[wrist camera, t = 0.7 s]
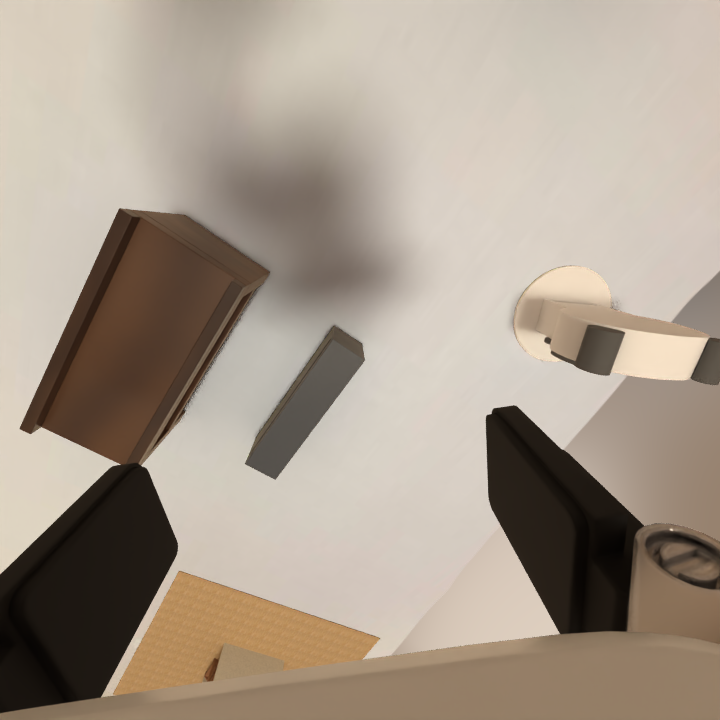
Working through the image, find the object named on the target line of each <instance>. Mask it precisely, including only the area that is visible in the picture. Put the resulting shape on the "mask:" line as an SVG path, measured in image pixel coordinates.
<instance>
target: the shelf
mask: <svg viewBox="0 0 720 720" xmlns="http://www.w3.org/2000/svg"><path fill="white" fill-rule="evenodd" d="M269 274H270V272H269V271H267V270H266V269H264V268H263V267H261V266H260V265H258V264H257V263H255V262H254V261H253V260H251V259H250V258H248V257H247V256H245V255H244V254H242V253H241V252H239V251H238V250H236V249H235V248H233V247H232V246H230V245H229V244H227V243H226V242H224V241H223V240H221V239H220V238H218V237H217V236H215V235H214V234H212V233H211V232H209V231H208V230H206V229H205V228H203V227H202V226H200V225H199V224H197V223H196V222H194V221H193V220H191V219H190V218H188V217H187V216H186V215H180V214H170V213H160V212H150V211H139V210H129V209H119V210H118V212H117V215H116V217H115V219H114V221H113V223H112V226H111V228H110V230H109V232H108V235H107V237H106V239H105V241H104V243H103V246H102V248H101V250H100V252H99V254H98V257H97V259H96V261H95V263H94V265H93V268H92V270H91V272H90V274H89V276H88V279H87V281H86V283H85V285H84V287H83V290H82V292H81V294H80V296H79V298H78V301H77V303H76V305H75V307H74V309H73V312H72V314H71V316H70V318H69V321H68V323H67V325H66V327H65V329H64V332H63V334H62V336H61V338H60V340H59V343H58V345H57V347H56V349H55V351H54V354H53V356H52V358H51V360H50V362H49V365H48V367H47V369H46V371H45V373H44V376H43V378H42V380H41V382H40V384H39V387H38V389H37V391H36V393H35V395H34V398H33V400H32V402H31V404H30V407H29V409H28V411H27V413H26V415H25V418H24V420H23V422H22V424H21V426H20V429H21V430H23V431H25V432H27V433H29V434H32V433H33V432H35V431H36V430H38V429H39V428H41V427H43V428H45V429H47V430H49V431H51V432H53V433H55V434H57V435H60V436H62V437H64V438H66V439H68V440H70V441H72V442H74V443H77V444H79V445H81V446H83V447H85V448H87V449H89V450H91V451H94V452H96V453H98V454H100V455H102V456H104V457H106V458H108V459H110V460H113V461H115V462H117V463H119V464H121V465H123V464H130V463H138V464H140V465H142V464H143V463H144V462H145V460H146V459H147V458H148V457H149V456H150V455H151V454H152V452H153V451H154V450H155V449H156V448H157V447H158V445H159V444H160V443H161V442H162V441H163V440H164V438H165V437H166V436H167V435H168V434H169V433H170V431H171V430H172V429H173V428H174V427H175V426H176V424H177V423H178V422H179V421H180V420H181V418H182V416H183V415H184V413H185V411H183V408H184V407H185V405H186V403H187V402H188V400H189V398H190V397H191V395H192V393H193V392H194V390H195V388H196V387H197V385H198V384H199V382H200V380H201V379H202V377H203V375H204V374H205V372H206V370H207V369H208V367H209V365H210V364H211V362H212V360H213V359H214V357H215V355H216V354H217V352H218V351H219V349H220V347H221V346H222V344H223V342H224V341H225V339H226V337H227V336H228V334H229V332H230V331H231V329H232V327H233V326H234V324H235V322H236V321H237V319H238V318H239V316H240V314H241V313H242V311H243V309H244V308H245V306H246V304H247V303H248V301H249V299H250V298H251V296H252V294H253V293H254V291H255V289H256V288H257V287H259V286H260V285H262V284H263V283H264V282H265V280H266V278H267V277H268V275H269Z"/></svg>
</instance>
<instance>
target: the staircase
mask: <svg viewBox="0 0 720 720" xmlns="http://www.w3.org/2000/svg"><path fill="white" fill-rule="evenodd" d="M284 666H285V661H284V660H282V659H279V658H275V657H272V656H269V655H266V654H265V655H264V654H261V653H258V652H256V651H253V650H252V651H251V650H248V649H245V648H242V647H238V646H235V645H232V644H229V643H226V642H224V643H223V645H222V648H221V652H220V655H219V659H216V658H214V659H213V660H212V663H211V665H210V667H209V668H208V670H207V671H205V672H204V675H203V678H202V681H201V683H203V682H210V681H217V680H223V679H230V678H237V677H244V676H251V675H258V674H265V673H272V672H279V671H284Z"/></svg>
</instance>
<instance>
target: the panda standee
mask: <svg viewBox="0 0 720 720" xmlns="http://www.w3.org/2000/svg"><path fill="white" fill-rule="evenodd" d="M611 303H612V302H611V295H610V291H609V288H608V286H607V284H606V283H605V281H604V280H603V279H602V277H600V276H599V275H598V274H597V273H596V272H594V271H592V270H590V269H587V268H584V267H579V266H564V267H559V268H555V269H553V270H550V271H548V272H546V273H544V274H543V275H541V276H540V277H538V278H537V279H536V280H534V281H533V282H532V283H531V284H530V285H529V286H528V288H527V289H526V290H525V291H524V293H523V294H522V296H521V298H520V300H519V302H518V304H517V307H516V310H515V314H514V332H515V336H516V338H517V341H518V343H519V344H520V346H521V347H522V348H523V349H524V350H525V351H526V352H527V353H528V354H530V355H531V356H533V357H535V358H537V359H540V360H543V361H550V362H556V361H566V362H568V363H571V364H574V365H575V366H576V367H577V368H579V369H582V370H584V371H587V372H590V373H594V374H598V375H605V376H607V375H610V373H611V372H614V373H619V374H624V375H630V376H636V377H643V378H651V379H662V380H688V379H690V378H691V379H692V380H695V381H697V382H701V383H704V384H710V385H718V384H719V382H720V339H717V338H709V337H710V335H708V334H706V333H703V332H700V331H698V330H695V329H691V328H688V327H685V326H681V325H678V324H674V323H670V322H665V321H661V320H656V319H651V318H646V317H641V316H635V315H632V314H628V313H625V312H621V311H618V310H615V309H611Z"/></svg>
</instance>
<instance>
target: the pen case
mask: <svg viewBox="0 0 720 720" xmlns="http://www.w3.org/2000/svg"><path fill="white" fill-rule="evenodd" d="M364 361H365V358H364V352H363V346H362V344H361V343H360V342H358V341H357V340H355V339H354V338H352V337H351V336H349V335H348V334H346V333H345V332H343V331H342V330H340V329H339V328H337V327H336V326H333V328H332V329H331V331H330V332H329V334H328V335H327V337H326V338H325V339H324V341H323V342H322V344H321V345H320V347H319V348H318V349H317V351H316V352H315V354H314V355H313V357H312V358H311V359H310V361H309V362H308V364H307V365H306V367H305V368H304V370H303V371H302V372H301V374H300V375H299V377H298V378H297V380H296V381H295V382H294V384H293V385H292V387H291V388H290V390H289V391H288V392H287V394H286V395H285V397H284V398H283V400H282V401H281V402H280V404H279V405H278V407H277V408H276V410H275V411H274V413H273V414H272V415H271V417H270V418H269V420H268V421H267V423H266V424H265V425H264V427H263V428H262V430H261V431H260V433H259V434H258V435H257V437H256V439H255V441H254V444H253V446H252V448H251V451H250V453H249V456H248V458H247V460H246V463H245V464H246V465H248V466H250V467H252V468H254V469H256V470H258V471H260V472H261V473H263V474H265V475H267V476H269V477H271V478H273V479H276V478H277V477H278V476H279V474H280V473H281V472H282V470H283V469H284V468H285V466H286V465H287V464H288V462H289V461H290V460H291V458H292V457H293V456H294V454H295V453H296V452H297V450H298V449H299V448H300V446H301V445H302V444H303V442H304V441H305V440H306V438H307V437H308V436H309V434H310V433H311V432H312V430H313V429H314V428H315V426H316V425H317V424H318V422H319V421H320V420H321V418H322V417H323V416H324V414H325V413H326V412H327V410H328V409H329V408H330V406H331V405H332V404H333V402H334V401H335V400H336V398H337V397H338V396H339V394H340V393H341V392H342V390H343V389H344V388H345V386H346V385H347V383H348V382H349V381H350V379H351V378H352V377H353V375H354V374H355V373H356V371H357V370H358V369H359V367H360V366H361V365H362V363H363V362H364Z"/></svg>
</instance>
